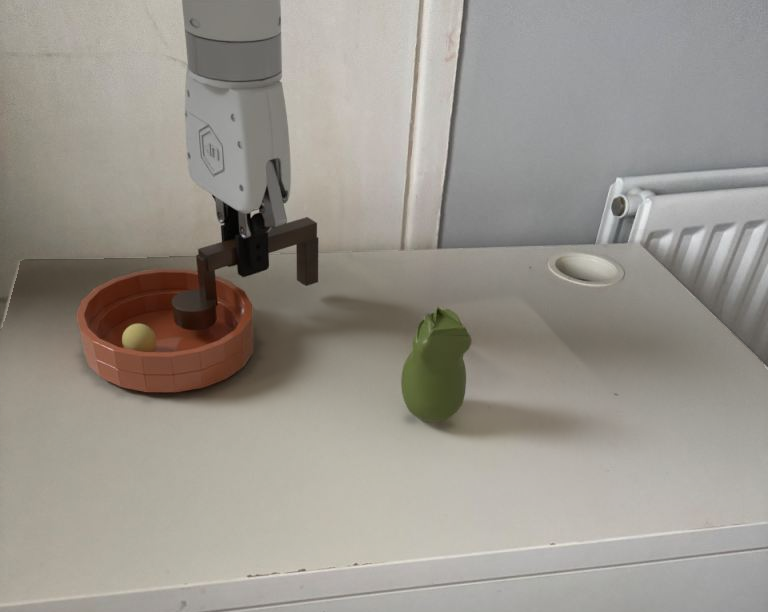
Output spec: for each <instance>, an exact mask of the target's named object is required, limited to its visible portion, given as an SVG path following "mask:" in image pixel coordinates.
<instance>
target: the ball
mask: <svg viewBox="0 0 768 612" xmlns="http://www.w3.org/2000/svg"><path fill="white" fill-rule="evenodd" d="M122 343H123V346H124V348H126V349H131V350H136V351H141V352H153V351H154V349H155V347H156V343H157V340H156V336H155V333H154V332H153V330H152V329H151V328H150V327H148V326H146V325H144V324H133V325H131V326H129V327H128V328H127V329H126V330H125V331H124V333H123V336H122Z"/></svg>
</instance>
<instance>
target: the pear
mask: <svg viewBox="0 0 768 612" xmlns="http://www.w3.org/2000/svg"><path fill="white" fill-rule="evenodd" d="M471 346H472V337H471V335H470V334H469V332H468V330H467V327H466V326H464V325H463V323H462V321H461V320H460V318H459V316H458V314H457V313H455V311H452V310H451V309H448V308H444V309H441V308H440V307H439V306H437V307H436V309H435V310H434V312H432V313H429V312H427V313H426V314H424V318H423V320H421V321H420V323H418V326H417V328H416V330H415V332H414V335H413V340H412V348H411V349H412V350H411V351H410V352H409V354H408V356H407V357H406V359H405V361H404V363H403V365H402V370H401V377H400V378H401V379H400V383H401V384H400V385H401V394H402V398H403V402H404V404H405V406H406V407H407V410H408V412H410V413H411V414H412V415H413V416H414V417H415V418H417V419H419V420H421V421H424V422H429V423H439V422H443V421H446V420H448V419H450V418H452V417H453V416H454V415H456V414H457V412H458V411H459V410H460V409H461V407H462V405H463V403H464V400H465V396H466V389H467V369H466V364H465V360H464V355H465V354H466V353H467V351H468V350H470V348H471Z"/></svg>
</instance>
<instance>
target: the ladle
mask: <svg viewBox="0 0 768 612" xmlns="http://www.w3.org/2000/svg"><path fill="white" fill-rule="evenodd" d="M293 246H295V247H296V249H295V250H296V281H297V282H298V283H301V284H302V285H304V286H305V287H307V286H311V285H314V284H317V283H318V282H319V237H318V222H316V221H315V220H313V219H311V218H310V217H308V216H306V217H302V218H299V219H296V220H293V221H292V220H291V221H289V222H287V223H286V224H284V225H280V226H277V227H272V229H271V231H270V232H268V251H269V254H270V253H274V252H277V251H282V250H283V249H287V248H290V247H293ZM197 253H198V254H196V255H195V259H196V261H195V262H196V271H198V281H199V290H189V291H184V292H181V293H178V294H177V295H175V296H174V297H173V299H172V309H173V317H174V322H175V324H176V325H177V326H179V327H180V328H183V329H187V330H202V329H206V328H209V327H211V326H212V325H214V324H215V322H216V320H217V313H216V306H217V305H218V303H217V291H216V280H215V275H216V270H219V269H223V268H226V267H228V266H229V265H232V264H235V263H237V254H236V239H235V238H234V239H231V240H227V241H224V242H222V241H221V242H217V243H214V244H211V245H206V246H203V247H199V248H198V249H197Z"/></svg>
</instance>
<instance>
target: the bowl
mask: <svg viewBox="0 0 768 612" xmlns="http://www.w3.org/2000/svg"><path fill="white" fill-rule="evenodd" d="M215 280H216V291H217V303H218V305H217V306H216V313H217V320H216V322H215V324H214V325H212V326H211V327H209V328H206V329H202V330H187V329H183V328H180V327H179V326H177V325H176V324H175V322H174V317H173V309H172V299H173V297H174V296H175V295H177V294H178V293H181V292H184V291H189V290H199V281H198V271H197V270H196V269H195V270H194V269H189V268H188V269H186V268H156V269H149V270H140V271H135V272H132V273H128V274H124V275H121V276H118V277H113V278H111V279H110V280H108V281H106V282H104V283H103V284H100V285H99V286H96V287H95V288H93V289H92V290H91V291H90V292H89V293H88V294H87V295H85V297H84V298H83V299H82V300H81V301H80V304H79V307H78V309H77V312H76V314H75V315H76V316H75V317H76V321H77V322H76V323H77V326H78V327H77V328H78V331H79V336H80V340H81V344H82V346H81V347H82V350H83V354H84V356H85V360H86V361H85V362H86V364H87V365H88V366H89V367H90V369H91V370H92V371H94V372H95V373H96V374H97V376H98V377H100V379H102V380H105V381H107V382H109V383H111V384H114V385H116V386H118V387H121V388H124V389H129V390H134V391H138V392H139V391H140V392H144V393H180V392H186V391H192V390H197V389H202V388H203V389H204V388H207V387H209V386H211V385H214V384H216V383H219V382H222V381H224V380H227V379H228V378H230V377H231V376H233V375H235V373H237V372H238V371H239V370H241V369H242V368H243V367H245V365H246V364H247V362H248V360H249V359H250V357H251V356H252V354H253V353H254V347H255V346H254V343H255V334H254V333H255V331H254V311H253V308H254V307H253V304H252V301H251V300H250V298H249V296H248V295H247V293H246V291H245V290H243V288H241V287H240V286H238V285H237V284H235V283H234V282H232V281H231V280H228V279H226V278H224V277H221V276H219V275H217V274H215ZM133 324H144V325H146V326H148V327H150V328H151V329H152V330H153V332H154V333H155V336H156V340H157V343H156V347H155V349H154V351H153V352H141V351H136V350H131V349H126V348H124V346H123V343H122V336H123V333H124V331H125V330H126V329H127V328H128V327H129V326H131V325H133Z"/></svg>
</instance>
